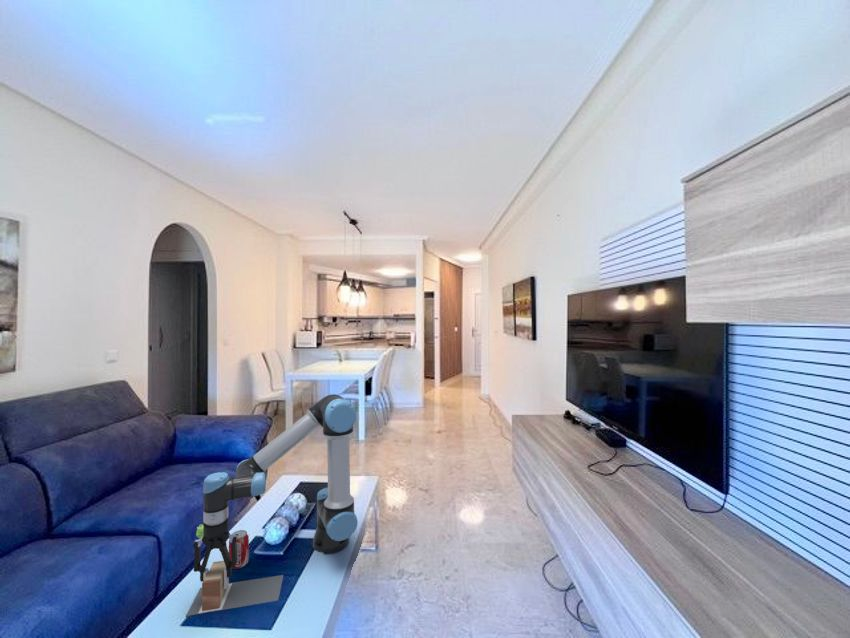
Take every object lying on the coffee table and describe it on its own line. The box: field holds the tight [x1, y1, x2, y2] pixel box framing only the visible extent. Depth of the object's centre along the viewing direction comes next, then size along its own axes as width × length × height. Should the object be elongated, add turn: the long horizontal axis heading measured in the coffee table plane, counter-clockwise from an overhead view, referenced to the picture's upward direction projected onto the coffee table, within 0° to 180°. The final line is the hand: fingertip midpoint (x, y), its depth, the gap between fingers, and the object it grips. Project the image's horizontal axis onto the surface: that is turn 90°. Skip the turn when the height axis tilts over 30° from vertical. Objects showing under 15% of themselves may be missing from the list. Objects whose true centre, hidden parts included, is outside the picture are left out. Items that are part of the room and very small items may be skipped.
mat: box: [185, 574, 284, 618], centre depth 128 cm, size 28×13×1 cm, turn 103°
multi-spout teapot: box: [195, 523, 203, 539], centre depth 163 cm, size 6×5×6 cm
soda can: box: [228, 529, 250, 570], centre depth 145 cm, size 7×7×12 cm
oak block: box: [201, 560, 229, 611], centre depth 127 cm, size 11×5×9 cm, turn 13°
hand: (216, 587), depth 127 cm, fingers open, 6 cm apart
